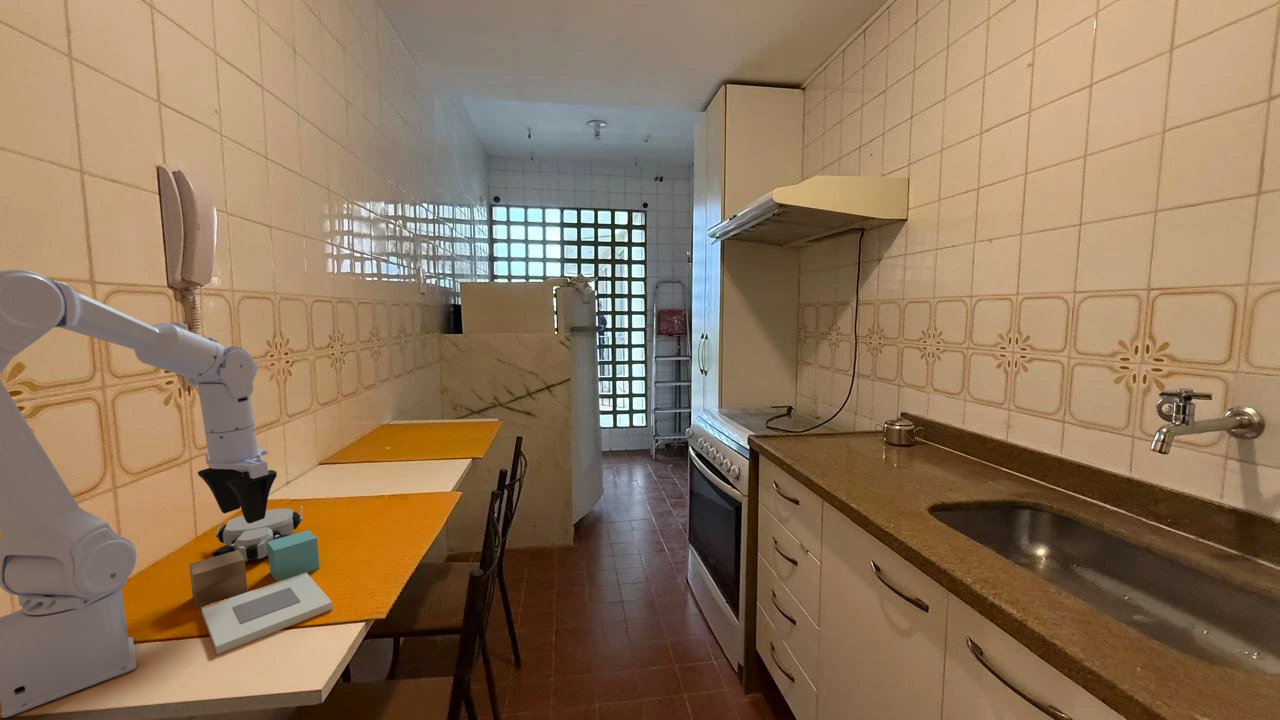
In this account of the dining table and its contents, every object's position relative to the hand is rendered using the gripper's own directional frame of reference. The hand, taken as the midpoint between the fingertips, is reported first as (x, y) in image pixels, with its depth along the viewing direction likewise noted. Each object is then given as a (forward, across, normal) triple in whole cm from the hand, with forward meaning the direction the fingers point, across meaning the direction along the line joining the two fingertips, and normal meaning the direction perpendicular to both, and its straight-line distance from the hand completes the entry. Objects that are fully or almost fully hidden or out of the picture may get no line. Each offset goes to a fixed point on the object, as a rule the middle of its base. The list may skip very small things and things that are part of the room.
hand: (243, 515), depth 77 cm
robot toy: (+10, +9, -5) cm, 15 cm away
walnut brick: (+9, -3, +5) cm, 11 cm away
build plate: (+9, -14, +4) cm, 17 cm away
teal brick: (+10, -5, -4) cm, 11 cm away
